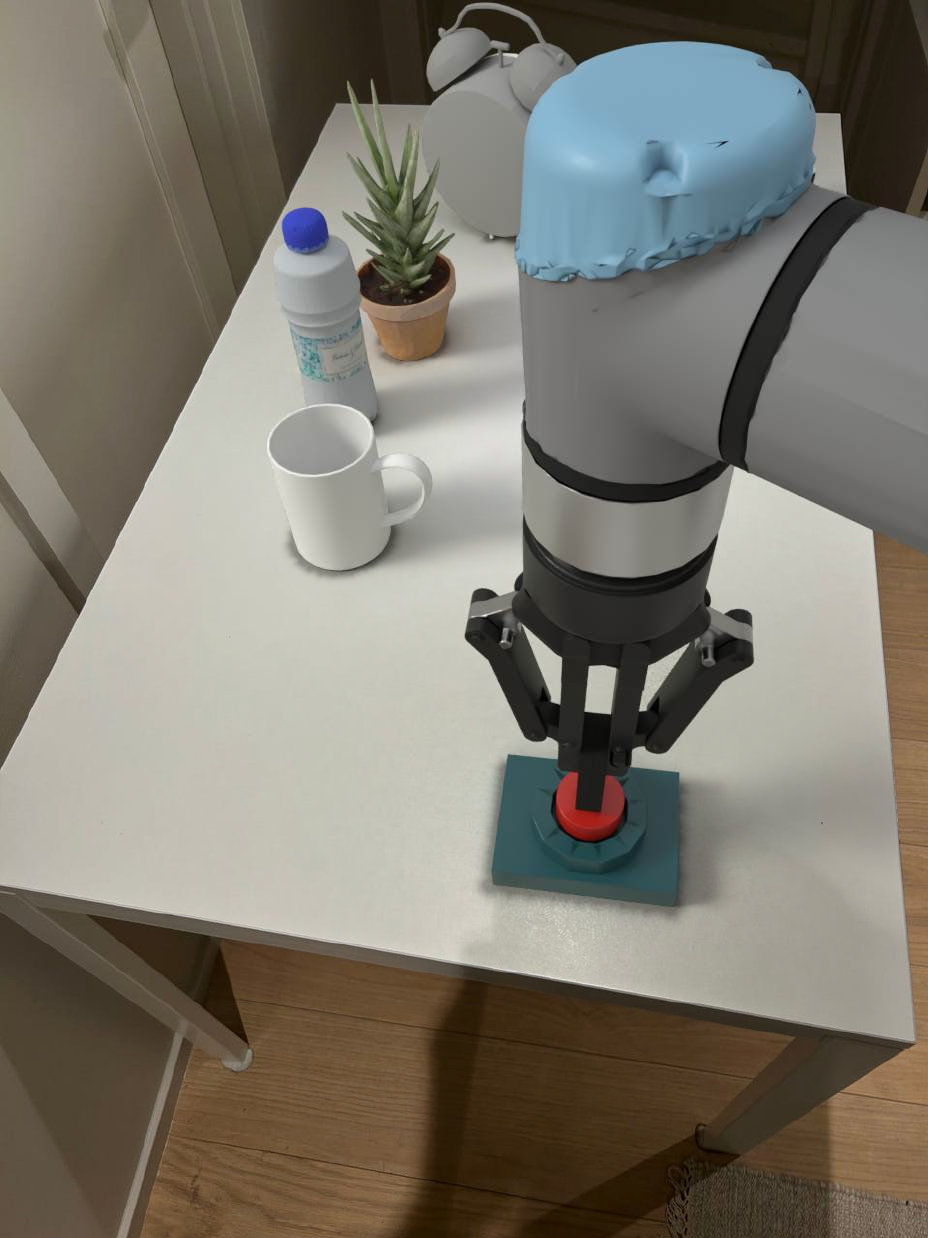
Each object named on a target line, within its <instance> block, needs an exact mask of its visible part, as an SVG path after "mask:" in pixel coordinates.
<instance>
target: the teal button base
mask: <svg viewBox="0 0 928 1238" xmlns="http://www.w3.org/2000/svg"><path fill="white" fill-rule="evenodd" d="M557 765H558V758H549V757H541V756H540V757H539V756H531V755H530V756H529V755H519V754H512V753H508V754H507V756H506V764H505V771H504V778H503V779H504V780H503V785H502V792H501V800H500V807H499V814H498V821H497V828H496V835H495V842H494V850H493V857H492V862H491V863H492V864H491V879H492V885H495V886H497V885H498V886H504V887H512V888H520V889H521V888H522V889H527V890H528V889H529V890H535V891H542V892H543V891H545V892H552V893H560V894H568V895H574V896H575V895H577V896H584V897H592V898H598V899H599V898H600V899H608V900H616V901H623V902H632V903H640V904H646V905H647V904H648V905H655V906H662V907H669V908H670V907H672V908H673V907H674V905H675V902H676V899H677V897H678V892H679V891H678V890H679V889H678V888H679V887H678V885H679V834H680V831H679V830H680V829H679V828H680V826H679V825H680V772H679V771H673V770H672V771H671V770H663V769H652V768H643V767H635V766H634V767H633V766H631V767H629V768H628V772H627V774H626V775H625V776H623V777H618V776H613V777H614V778H615V779H616V780H617V781H618V782H619V784H620V785H621V787H622V789H623V792H624V798H625V802H624V809H623V815H622V819H621V822H620V825H619V826H618V828H617V829H616V830H615V832H613V833H612V834H611V835H610V836H608V837H606V838H604V839H601V840H597V841H585V840H581V839H578V838H576V837H573V836H572V835H570V834H569V833H568V832H566V831H565V830H564V829H563V827H562V826H561V824H560V823H559V820H558V818H557V814H556V797H557V790H558V787H559V784H560V783H561V781H562V780H563V779H564V777H565V776H567V775H568V774H569V773H571V772H566V771H561V770H560V769H559V768H558V766H557Z"/></svg>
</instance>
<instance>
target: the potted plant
mask: <svg viewBox="0 0 928 1238" xmlns="http://www.w3.org/2000/svg"><path fill="white" fill-rule="evenodd" d="M346 84H347V85H346V86H347V91H348V95H349V99H350V102H351V106H352V109H353V112H354V117H355V118H356V119H355V120H356V122H357V125H358V128H359V130H360V133H361V136H362V139H363V142H364V145H365V147H366V150H367V152H368V155H369V158H370V160H371V163H372V165H373V167H374V170H375V172H376V174H377V176H378V179H379V182H380V185H381V186H380V185H379V184H378V182H376V180H375V179H374V178H373V176H372V175H371V174H370V173H369V171H368V169H367V168H366V167H365V165H364V164H363V162H362V160H361V159H360V158H359V156H358V155H356V160H355V159H354V158H353V157H352V155H351V154H350V153H349V152H348V151H345V154H346V158H347V160H348V161H349V164H350V165H351V167H352V170H353V172H354V173H355V174H356V176H357V178H358V179H359V180H360V182H361V184H362V185H363V187H364V188H365V190H366V191H367V193H368V194H369V196H370V197H371V199H372V200H373V201H372V200H371V199H370V198H369V197H367V196H365V197H366V203H367V205H368V207H369V209H370V211H371V213H372V215H373V218H374V220H375V221H374V220H371V219H369V218H367V217H365V216H363V215H362V214H359V213H357V212H356V211H353V214H354V216H355V217H356V219H355V218H354V217H352V216H350V215H349V214H348V213H347V212H345V211H344V210H341V213H342V214H341V216H342V218H343V219H344V220H345V221H347V223H348V224H349V225H350V226H352V228H354V230H355V231H357V233H359V234H360V235H362V237H364V238H365V239H366V240H368V241H369V242H370V243H371V244H372V245H374V246H375V247H376V248H377V249H378V250H379V251H380V253H378V252H375V251H374V250H371V249H369V248H365V251H366V253H367V254H368V255H369V256H371V257H370V258H368V259H367V260H366V261H364V262H363V263H362V264H361V265H360V266H359V267H358V268H357V270H356V273H357V275H358V278H359V280H360V293H361V296H362V301H361V305H360V307H359V308H360V309H361V310H362V311H363V312H365V313H366V314H367V316H368V319H369V321H370V322H371V324H372V326H373V328H374V330H375V332H376V334H377V336H378V337H379V338H378V339H379V341H380V344H381V347H382V348H383V350H384V351H385V353H386V354H387V355H388V356H390V357H391V358H393V359H395V360H399V361H402V362H403V361H405V362H413V361H414V362H415V361H418V360H421V359H424V358H428V357H430V356H432V355H434V354H435V353H437V352H438V350H439V349H440V348H442V345H443V342H444V336H445V331H446V325H447V319H448V315H449V308H450V303H451V301H452V299H453V298H454V296H455V294H456V289H457V279H456V268H455V266H454V264H453V263H452V261H451V259H449V258H448V257H447V256H445V255H444V254H443V253H441V251H442V250H443V249H444V248H445V247H446V246H447V244H448V243H450V241H451V240H452V239H453V238H454V236H456V232H452V233H451V234H450V235H448V236H446V237H445V238H443V239H441V237H442V236H443V234H444V232H445V229H444V228H441V230H439V231H438V232H437V234H435V235H434V237H433V238H432V239H431V240H429V241H428V242H425V240H426V239H427V238H426V237H427V236H428V233H429V231H430V229H431V228H432V225H433V223H434V221H435V218H436V215H437V212H438V208H439V206H440V201H438V200H437V201H436V202H435V204H433V206H432V207H431V208H430V210H429V211H428V208H429V205H430V202H431V199H432V196H433V193H434V189H435V182H436V179H437V176H438V172H439V167H440V158H438V160H437V162H436V165H435V167H434V170H433V172H432V174H431V175H429V174H428V175H429V176H428V179H427V182H426V184H425V185H424V187H423V188H422V190H421V191H420V193H419V194H418V195H417V196H416V197H415V198H414V191H415V184H416V178H417V170H418V169H417V167H418V161H419V159H418V158H419V148H420V147H419V145H420V133H419V125H416V126H415V131H414V133H413V132H412V128H411V122H408V124H407V128H406V134H405V140H404V145H403V150H402V159H401V165H400V170H399V175H398V178H397V175H396V174H397V173H396V170H395V166H394V161H393V156H392V153H391V151H390V146H389V145H390V144H389V142H388V141H387V137H386V132H385V128H384V127H385V126H384V122H383V117H382V114H381V109H380V105H379V101H378V97H377V92H376V88H375V83H374V80H373V78H371V79H370V88H371V97H372V98H371V99H372V105H373V106H372V107H373V112H374V121H375V124H376V132H377V137H378V143H379V147H378V144H377V141H376V140H375V138H374V135H373V133H372V131H371V128H370V126H369V124H368V122H367V120H366V118H365V115H364V112H363V110H362V108H361V106H360V104H359V102H358V100H357V97H356V94H355V92H354V89H353V87H352V86H351V84H350V81H349V80H347V81H346ZM427 211H428V212H427ZM357 220H358V221H357ZM362 224H363V225H362ZM364 226H365V227H367V228H368V229H369V230H370V231H368V229H366V228H365V227H364ZM440 239H441V240H440ZM439 240H440V241H439ZM438 241H439V242H438ZM436 242H438V243H436ZM435 243H436V244H435Z"/></svg>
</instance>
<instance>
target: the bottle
mask: <svg viewBox="0 0 928 1238" xmlns="http://www.w3.org/2000/svg"><path fill="white" fill-rule="evenodd" d="M281 232H282V236H283V240H284V242H283V243H282V244H281V245H280V246H279V247H278V248H277V249H276V250H275V252H274V254H273V258H272V259H273V260H272V262H273V271H274V280H275V281H274V282H275V297H276V300H277V302H278V303H279V309H280V312H281V314H282V316H283V318H284V319H285V320H286V321H287V324H288V327H289V332H290V336H291V340H292V345H293V348H294V352H295V357H296V360H297V365H298V368H299V371H300V377H301V385H302V389H303V396H304V401H305V407H308V406H312V405H318V404H340V405H344V406H348V407H352V408H354V409H356V410H358V411H360V412H362V413H363V414H364V415H365V416H366V417H367V418H368V419H369V420H370V422H373V421H374V420H375V419H376V417H377V413H378V397H377V391H376V386H375V381H374V378H373V374H372V371H371V366H370V363H369V358H368V350H367V345H366V340H365V334H364V328H363V322H362V316H361V311H360V308H361V307H360V305H361V301H362V296H361V293H360V280H359V278H358V275H357V273H356V271H357V270H356V267H355V264H354V261H353V257H352V254H351V251H350V248H349V246H348V244H347V242H346V241H344V240H343V238H340V237H339V236H337V235H334V234H330V233H329V228H328V223H327V220H326V218H325V216H324V214H323V213H322V212H320V211H319V210H318V209H316V208H313V207H298V208H295V209H292V210H290V211H288V212H287V213H286V214H285V215H284V217H283V218H282V221H281Z"/></svg>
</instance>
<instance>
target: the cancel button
mask: <svg viewBox="0 0 928 1238" xmlns="http://www.w3.org/2000/svg"><path fill="white" fill-rule="evenodd" d="M577 781H578V773H575V772H571V773H569V774H568V775H567V776H565V777H564V779H563V780H562V781H561V783H560V784H559V787H558V790H557V797H556V814H557V818H558V820H559V823H560V824H561V826H562V827H563V829H564V830H565V831H566V832H568V833H569V834H570V835H572V836H573V837H576V838H578V839H581V840H585V841H597V840H601V839H604V838H606V837H608V836H610V835H611V834H612V833H613V832H615V830H616V829H617V828H618V826H619V825H620V822H621V819H622V815H623V809H624V802H625V798H624V792H623V789H622V787H621V785H620V784H619V782H618V781H617V780H616V779H615V778H614V777H613V776H609V775H606V779H605V786H604V793H603V800H602V808H601V813H598V812H589V811H581V810H575V803H576V792H577Z"/></svg>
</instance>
